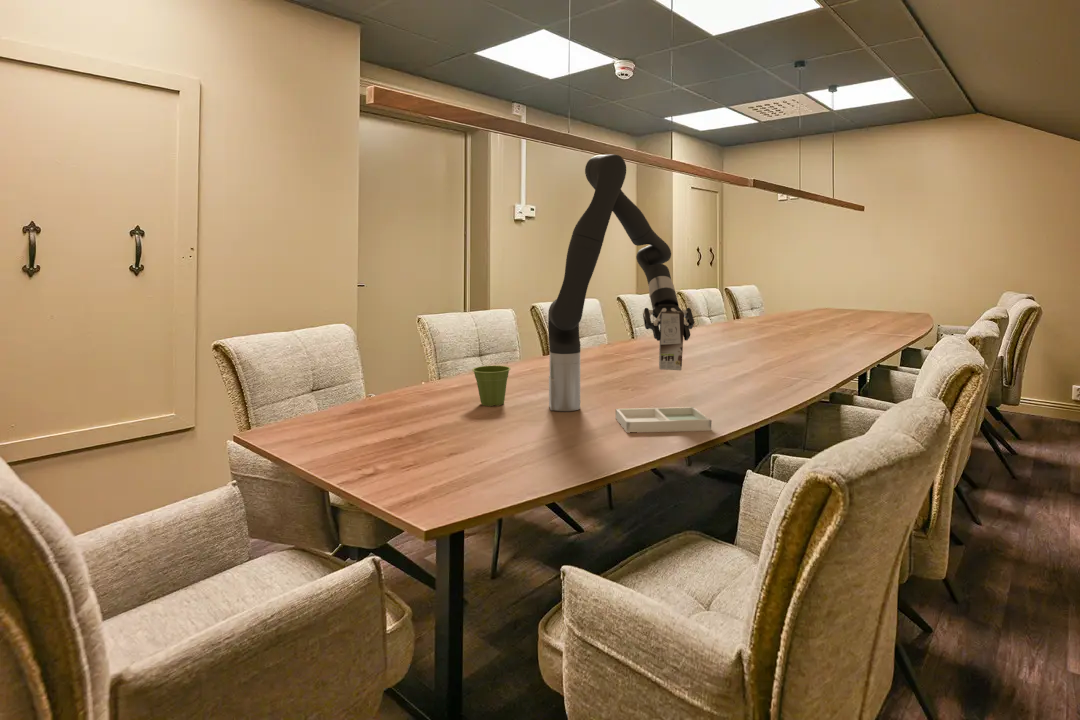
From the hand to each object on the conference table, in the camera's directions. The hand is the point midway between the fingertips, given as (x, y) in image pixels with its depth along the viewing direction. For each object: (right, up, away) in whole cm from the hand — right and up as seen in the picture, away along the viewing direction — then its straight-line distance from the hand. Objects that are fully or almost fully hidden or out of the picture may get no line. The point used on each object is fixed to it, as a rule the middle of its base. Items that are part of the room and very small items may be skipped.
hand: (673, 338), depth 173 cm
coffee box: (0, -8, +4) cm, 9 cm away
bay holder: (-4, -23, -6) cm, 24 cm away
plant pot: (-52, -20, +20) cm, 59 cm away
